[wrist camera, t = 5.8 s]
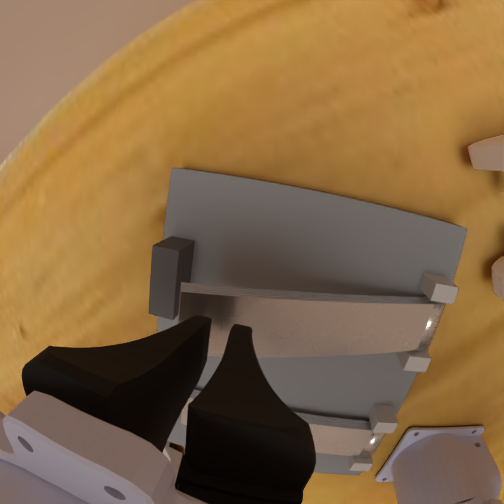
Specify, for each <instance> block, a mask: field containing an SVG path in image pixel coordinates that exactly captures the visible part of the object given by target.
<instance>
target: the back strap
mask: <svg viewBox="0 0 504 504" xmlns="http://www.w3.org/2000/svg"><path fill="white" fill-rule="evenodd" d="M200 392H201V391H199V390H195V389H194V391H193V392H192V394H191V396H190V398H189V399H188V401H187V403H186V405H185V406H184V408H183V410H182V412H181V424H184V425H187V412H188V404H189V403H190V402H192V401H193V399H194V398H195V397H196V396H197V395H198V394H199V393H200ZM294 413H296V414H297V415H298V416H299V417H301V418H302V419H303V420H305V421H306V422H307V423H308V424H309V426H310V429H311V433H312V436H313V441H314V445H315V451H316V453H325V454H335V455H346V456H359V457H360V458H364V459H366V458H369V457H371V455H372V454H373V452H374V451H375V449H376V448H377V446H378V444H379V443H380V441H381V439H382V438H383V436H384V434H385V433H375V432H372V429H371V424H370V421H361V420H351V419H342V418H333V417H326V416H318V415H312V414H305V413H299V412H294Z"/></svg>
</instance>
